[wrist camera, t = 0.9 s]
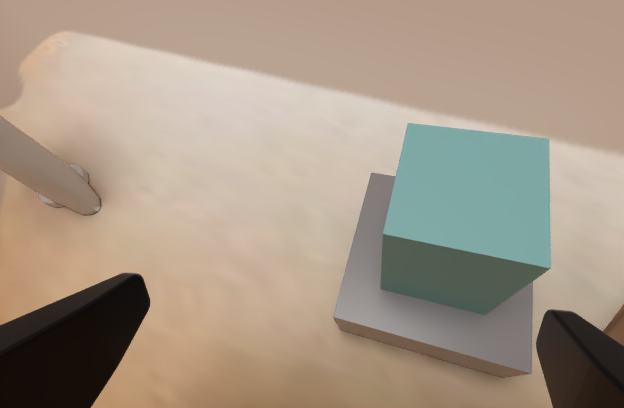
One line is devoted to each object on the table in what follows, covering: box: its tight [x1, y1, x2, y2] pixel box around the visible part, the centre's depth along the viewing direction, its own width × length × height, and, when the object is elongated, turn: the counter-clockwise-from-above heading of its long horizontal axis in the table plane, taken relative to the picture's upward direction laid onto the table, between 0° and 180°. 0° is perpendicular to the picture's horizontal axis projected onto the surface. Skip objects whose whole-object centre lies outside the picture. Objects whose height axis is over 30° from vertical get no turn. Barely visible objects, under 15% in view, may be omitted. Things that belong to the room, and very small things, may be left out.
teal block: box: [380, 123, 551, 315], centre depth 15 cm, size 5×5×7 cm
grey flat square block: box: [333, 173, 533, 377], centre depth 20 cm, size 9×9×4 cm
